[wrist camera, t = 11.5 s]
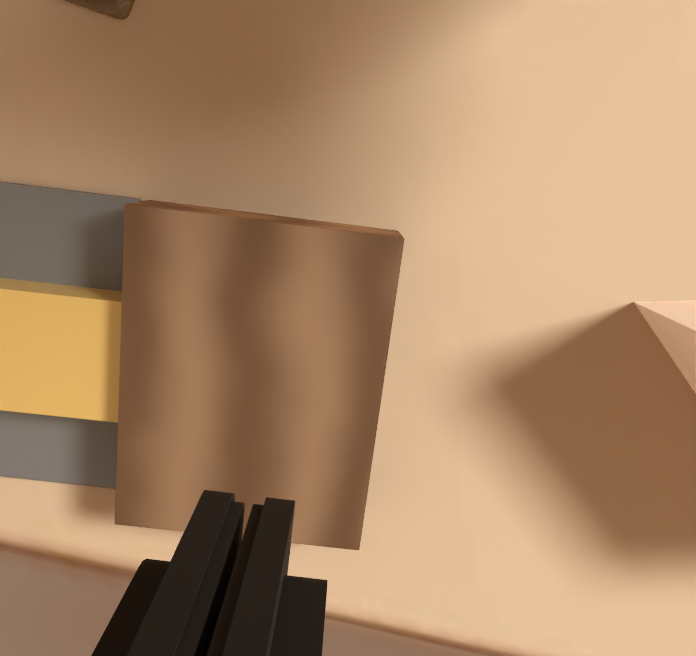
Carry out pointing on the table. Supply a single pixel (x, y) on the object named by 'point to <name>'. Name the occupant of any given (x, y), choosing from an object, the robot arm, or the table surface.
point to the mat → (66, 269)
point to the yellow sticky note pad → (59, 350)
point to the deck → (251, 365)
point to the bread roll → (107, 6)
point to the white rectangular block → (675, 332)
